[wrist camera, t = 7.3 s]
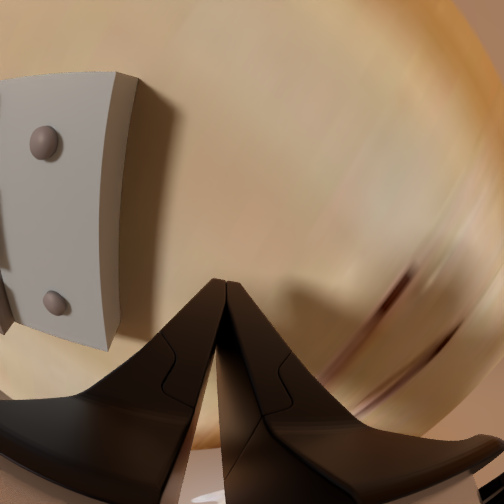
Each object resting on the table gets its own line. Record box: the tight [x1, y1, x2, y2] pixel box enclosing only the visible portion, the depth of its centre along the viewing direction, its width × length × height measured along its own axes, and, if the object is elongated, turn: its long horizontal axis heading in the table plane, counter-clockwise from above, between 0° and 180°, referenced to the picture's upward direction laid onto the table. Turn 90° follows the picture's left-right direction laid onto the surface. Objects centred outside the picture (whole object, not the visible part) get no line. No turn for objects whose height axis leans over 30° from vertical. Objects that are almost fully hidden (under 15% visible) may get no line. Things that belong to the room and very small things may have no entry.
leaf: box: [0, 72, 139, 352], centre depth 9 cm, size 8×12×4 cm
